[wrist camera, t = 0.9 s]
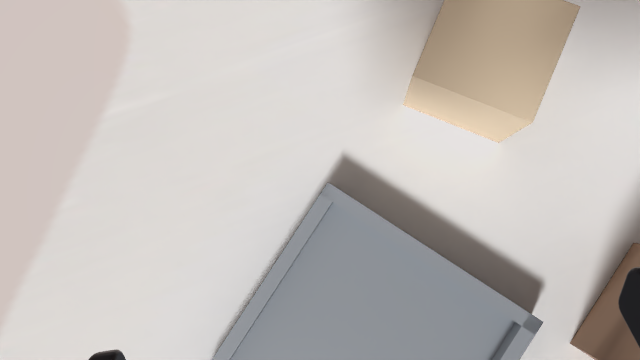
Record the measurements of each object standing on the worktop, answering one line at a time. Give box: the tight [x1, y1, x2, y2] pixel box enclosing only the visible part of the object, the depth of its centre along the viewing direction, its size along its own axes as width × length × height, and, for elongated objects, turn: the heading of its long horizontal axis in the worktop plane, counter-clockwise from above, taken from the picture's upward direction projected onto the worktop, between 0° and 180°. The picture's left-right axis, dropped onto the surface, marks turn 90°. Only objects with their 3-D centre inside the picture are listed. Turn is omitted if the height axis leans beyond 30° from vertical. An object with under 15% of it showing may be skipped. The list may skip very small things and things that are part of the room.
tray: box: [212, 182, 543, 360], centre depth 21 cm, size 10×10×1 cm
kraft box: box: [403, 0, 580, 143], centre depth 20 cm, size 4×4×4 cm
